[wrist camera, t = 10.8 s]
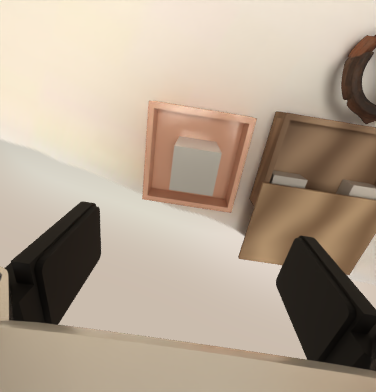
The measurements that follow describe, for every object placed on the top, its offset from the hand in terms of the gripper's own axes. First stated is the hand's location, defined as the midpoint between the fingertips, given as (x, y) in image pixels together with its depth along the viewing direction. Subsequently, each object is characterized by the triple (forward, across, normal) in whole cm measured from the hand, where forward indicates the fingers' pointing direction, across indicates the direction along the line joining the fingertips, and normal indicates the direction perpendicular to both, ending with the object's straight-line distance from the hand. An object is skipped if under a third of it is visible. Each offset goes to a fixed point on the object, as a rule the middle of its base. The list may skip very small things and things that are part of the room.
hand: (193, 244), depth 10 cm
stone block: (+17, 0, 0) cm, 17 cm away
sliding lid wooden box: (+18, -16, +3) cm, 24 cm away
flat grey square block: (+18, -11, +2) cm, 21 cm away
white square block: (+18, -20, +2) cm, 27 cm away
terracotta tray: (+18, 0, 0) cm, 18 cm away
